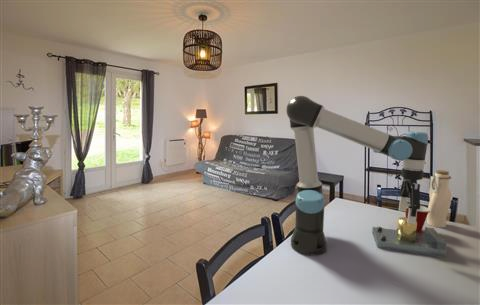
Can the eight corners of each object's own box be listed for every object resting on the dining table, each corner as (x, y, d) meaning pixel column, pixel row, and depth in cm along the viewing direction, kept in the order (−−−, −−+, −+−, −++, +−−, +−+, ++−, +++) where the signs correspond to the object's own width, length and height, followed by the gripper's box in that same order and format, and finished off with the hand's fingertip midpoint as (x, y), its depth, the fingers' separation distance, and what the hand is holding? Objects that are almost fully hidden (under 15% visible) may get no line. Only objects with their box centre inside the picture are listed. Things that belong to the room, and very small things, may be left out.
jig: (377, 247, 109) (378, 234, 108) (372, 232, 122) (373, 221, 121) (444, 257, 101) (446, 243, 100) (431, 240, 114) (433, 228, 113)
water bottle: (440, 230, 124) (447, 174, 119) (420, 223, 132) (426, 170, 127) (451, 225, 128) (458, 171, 124) (431, 219, 136) (437, 168, 132)
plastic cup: (433, 232, 121) (436, 208, 119) (417, 236, 118) (419, 212, 116) (411, 223, 131) (414, 201, 129) (396, 226, 128) (398, 204, 126)
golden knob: (398, 245, 109) (400, 222, 108) (394, 238, 116) (396, 216, 114) (416, 248, 107) (419, 224, 105) (412, 240, 113) (414, 218, 112)
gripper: (435, 176, 93) (427, 230, 97) (414, 163, 116) (408, 207, 120) (411, 174, 96) (404, 227, 99) (395, 162, 119) (390, 205, 122)
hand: (406, 216), depth 110 cm, fingers open, 13 cm apart
